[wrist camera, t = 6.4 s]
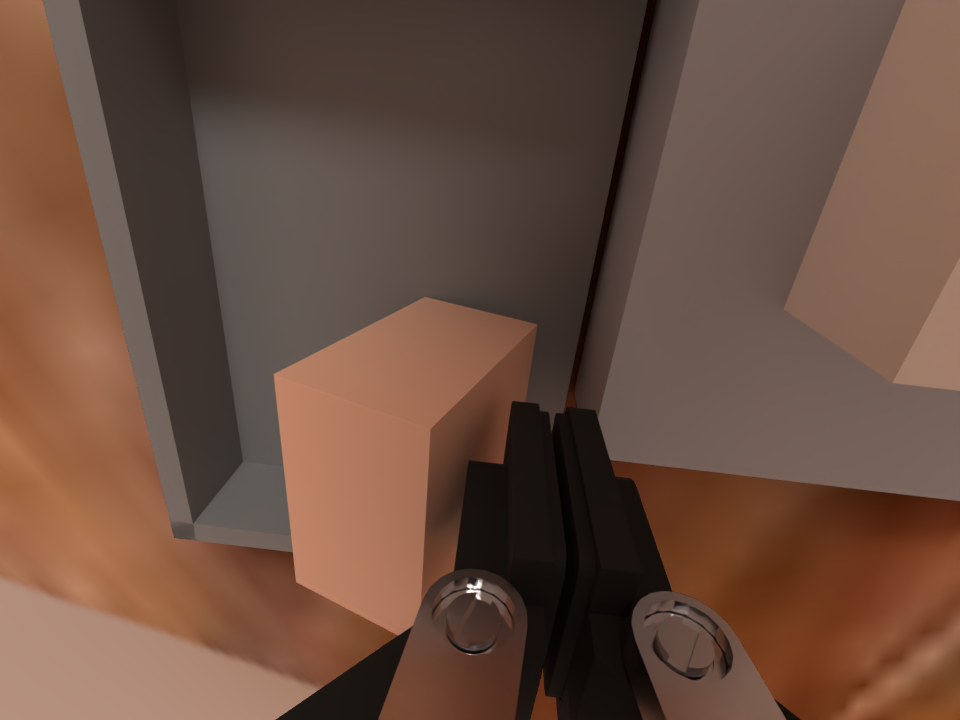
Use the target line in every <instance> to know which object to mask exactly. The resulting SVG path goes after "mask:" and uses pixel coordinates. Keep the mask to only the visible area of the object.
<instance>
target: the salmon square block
mask: <svg viewBox="0 0 960 720" xmlns="http://www.w3.org/2000/svg"><path fill="white" fill-rule="evenodd" d="M536 331H537V324H534V323H530V322H526V321H522V320H518V319H514V318H510V317H505V316H501V315H497V314H493V313H489V312H485V311H481V310H477V309H473V308H469V307H465V306H460V305H456V304H452V303H448V302H444V301H440V300H436V299H432V298H428V297H424V298H422V299H420V300H418V301H416V302H414V303H412V304H410V305H408V306H406V307H404V308H403V309H401V310H399V311H397V312H395V313H393V314H391V315H389V316H387V317H385V318H383V319H381V320H379V321H377V322H375V323H373V324H371V325H369V326H367V327H365V328H363V329H361V330H359V331H357V332H355V333H354V334H352V335H350V336H348V337H346V338H344V339H342V340H340V341H338V342H336V343H334V344H332V345H330V346H328V347H326V348H324V349H322V350H320V351H318V352H316V353H314V354H312V355H310V356H308V357H306V358H305V359H303V360H301V361H299V362H297V363H295V364H293V365H291V366H289V367H287V368H285V369H283V370H281V371H279V372H277V373H275V374H274V382H275V391H276V401H277V410H278V419H279V428H280V437H281V446H282V456H283V465H284V474H285V483H286V492H287V502H288V511H289V520H290V529H291V538H292V548H293V557H294V566H295V575H296V582H297V583H299V584H301V585H303V586H305V587H307V588H309V589H310V590H312V591H314V592H316V593H318V594H320V595H322V596H324V597H326V598H328V599H329V600H331V601H333V602H335V603H337V604H339V605H341V606H343V607H345V608H347V609H348V610H350V611H352V612H354V613H356V614H358V615H360V616H362V617H364V618H366V619H368V620H369V621H371V622H373V623H375V624H377V625H379V626H381V627H383V628H385V629H387V630H388V631H390V632H392V633H394V634H396V635H400V634H401V633H403V632H404V631H406V630H407V629H409V628H410V627H412V626H413V624H414V621H415V619H416V616H417V613H418V610H419V608H420V605H421V602H422V600H423V598H424V596H425V594H426V593H427V591H428V589H429V587H430V586H431V585H433V584H434V583H435V582H436V581H437V580H438V579H439V578H440V577H442V576H444V575H446V574H449V573H451V572H453V571H454V566H455V558H456V551H457V543H458V536H459V528H460V521H461V513H462V506H463V498H464V491H465V483H466V476H467V468H468V462H469V460H470V461H479V462H488V463H497V464H503V460H504V453H505V446H506V438H507V431H508V424H509V417H510V410H511V404H512V401H519V402H526V396H527V389H528V383H529V376H530V370H531V363H532V357H533V350H534V344H535V337H536Z"/></svg>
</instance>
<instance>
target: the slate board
mask: <svg viewBox="0 0 960 720" xmlns="http://www.w3.org/2000/svg"><path fill="white" fill-rule="evenodd" d="M904 3H905V0H657V2H656V6H655V11H654V16H653V21H652V25H651V30H650V35H649V40H648V44H647V49H646V54H645V59H644V63H643V68H642V73H641V78H640V82H639V87H638V92H637V97H636V101H635V106H634V111H633V115H632V120H631V125H630V130H629V134H628V139H627V144H626V149H625V153H624V158H623V163H622V168H621V172H620V177H619V182H618V187H617V191H616V196H615V201H614V206H613V210H612V215H611V220H610V225H609V229H608V234H607V239H606V243H605V248H604V253H603V258H602V262H601V267H600V272H599V277H598V281H597V286H596V291H595V296H594V300H593V305H592V310H591V315H590V319H589V324H588V329H587V334H586V338H585V343H584V348H583V352H582V357H581V362H580V367H579V371H578V376H577V381H576V386H575V390H574V396H575V400H576V404H577V408H582V409H591V410H595V411H596V413H597V417H598V420H599V424H600V427H601V431H602V434H603V437H604V441H605V444H606V448H607V451H608V455H609V458H610V460H614V461H623V462H631V463H640V464H648V465H657V466H665V467H674V468H682V469H691V470H699V471H708V472H716V473H725V474H733V475H742V476H750V477H759V478H768V479H776V480H785V481H793V482H802V483H810V484H819V485H827V486H836V487H844V488H853V489H861V490H870V491H878V492H887V493H895V494H904V495H912V496H921V497H929V498H938V499H946V500H955V501H960V391H957V390H948V389H939V388H931V387H922V386H913V385H904V384H896V383H891V382H890V381H888V380H887V379H886V378H884V377H883V376H881V375H880V374H878V373H877V372H875V371H874V370H872V369H871V368H869V367H868V366H866V365H865V364H863V363H862V362H860V361H859V360H857V359H856V358H855V357H853V356H852V355H850V354H849V353H847V352H846V351H844V350H843V349H841V348H840V347H838V346H837V345H835V344H834V343H832V342H831V341H829V340H828V339H826V338H825V337H824V336H822V335H821V334H819V333H818V332H816V331H815V330H813V329H812V328H810V327H809V326H807V325H806V324H804V323H803V322H801V321H800V320H798V319H797V318H796V317H794V316H793V315H791V314H790V313H788V312H787V311H785V310H784V306H785V304H786V301H787V299H788V296H789V294H790V291H791V289H792V286H793V283H794V281H795V278H796V276H797V273H798V271H799V268H800V266H801V263H802V261H803V258H804V256H805V253H806V251H807V248H808V246H809V243H810V241H811V238H812V235H813V233H814V230H815V228H816V225H817V223H818V220H819V218H820V215H821V213H822V210H823V208H824V205H825V203H826V200H827V198H828V195H829V192H830V190H831V187H832V185H833V182H834V180H835V177H836V175H837V172H838V170H839V167H840V165H841V162H842V160H843V157H844V155H845V152H846V150H847V147H848V144H849V142H850V139H851V137H852V134H853V132H854V129H855V127H856V124H857V122H858V119H859V117H860V114H861V112H862V109H863V107H864V104H865V101H866V99H867V96H868V94H869V91H870V89H871V86H872V84H873V81H874V79H875V76H876V74H877V71H878V69H879V66H880V64H881V61H882V59H883V56H884V53H885V51H886V48H887V46H888V43H889V41H890V38H891V36H892V33H893V31H894V28H895V26H896V23H897V21H898V18H899V16H900V13H901V10H902V8H903V5H904Z"/></svg>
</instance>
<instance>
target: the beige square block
mask: <svg viewBox="0 0 960 720" xmlns="http://www.w3.org/2000/svg"><path fill="white" fill-rule="evenodd" d="M784 310H785V311H787V312H788V313H790V314H791V315H793V316H794V317H796V318H797V319H798V320H800V321H801V322H803V323H804V324H806V325H807V326H809V327H810V328H812V329H813V330H815V331H816V332H818V333H819V334H821V335H822V336H824V337H825V338H826V339H828V340H829V341H831V342H832V343H834V344H835V345H837V346H838V347H840V348H841V349H843V350H844V351H846V352H847V353H849V354H850V355H852V356H853V357H855V358H856V359H857V360H859V361H860V362H862V363H863V364H865V365H866V366H868V367H869V368H871V369H872V370H874V371H875V372H877V373H878V374H880V375H881V376H883V377H884V378H886V379H887V380H888V381H890V382H891V383H896V384H904V385H913V386H922V387H931V388H939V389H948V390H957V391H960V0H905V3H904V5H903V8H902V10H901V13H900V16H899V18H898V21H897V23H896V26H895V28H894V31H893V33H892V36H891V38H890V41H889V43H888V46H887V48H886V51H885V53H884V56H883V59H882V61H881V64H880V66H879V69H878V71H877V74H876V76H875V79H874V81H873V84H872V86H871V89H870V91H869V94H868V96H867V99H866V101H865V104H864V107H863V109H862V112H861V114H860V117H859V119H858V122H857V124H856V127H855V129H854V132H853V134H852V137H851V139H850V142H849V144H848V147H847V150H846V152H845V155H844V157H843V160H842V162H841V165H840V167H839V170H838V172H837V175H836V177H835V180H834V182H833V185H832V187H831V190H830V192H829V195H828V198H827V200H826V203H825V205H824V208H823V210H822V213H821V215H820V218H819V220H818V223H817V225H816V228H815V230H814V233H813V235H812V238H811V241H810V243H809V246H808V248H807V251H806V253H805V256H804V258H803V261H802V263H801V266H800V268H799V271H798V273H797V276H796V278H795V281H794V283H793V286H792V289H791V291H790V294H789V296H788V299H787V301H786V304H785V306H784Z"/></svg>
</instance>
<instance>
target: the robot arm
mask: <svg viewBox="0 0 960 720" xmlns="http://www.w3.org/2000/svg"><path fill="white" fill-rule="evenodd" d="M542 670H543V673H544V689H545V695H546V696H549V697H556V702H557V715H558V720H800V719H799V718H798V717H796V716H795V715H794V714H793V713H791V712H790V711H789V710H788V709H786V708H785V707H784V706H783V705H781V704H780V703H779V702H777V701H776V700H775V699H774V698H773V696H772V695H771V693H770V691H769V689H768V688H767V686H766V684H765V683H764V681H763V679H762V678H761V676H760V674H759V673H758V671H757V669H756V667H755V666H754V664H753V662H752V661H751V659H750V657H749V656H748V654H747V652H746V650H745V649H744V647H743V645H742V644H741V642H740V640H739V639H738V637H737V636H736V634H735V633H734V631H733V630H732V629H731V627H730V626H729V625H728V623H727V622H726V621H725V620H724V619H723V618H722V617H720V616H719V615H718V614H717V613H716V612H715V611H714V610H713V609H712V608H710V607H708V606H707V605H705V604H703V603H702V602H700V601H698V600H697V599H695V598H692V597H689V596H687V595H684V594H681V593H677V592H672V590H671V587H670V584H669V581H668V578H667V575H666V572H665V569H664V566H663V563H662V560H661V557H660V555H659V552H658V549H657V546H656V543H655V540H654V537H653V534H652V531H651V528H650V525H649V522H648V520H647V517H646V514H645V511H644V508H643V505H642V502H641V499H640V496H639V493H638V490H637V487H636V485H635V483H634V481H633V480H632V479H630V478H621V477H615V475H614V472H613V468H612V465H611V461H610V458H609V455H608V451H607V448H606V444H605V441H604V437H603V434H602V431H601V427H600V424H599V420H598V417H597V413H596V411H595V410H591V409H582V408H573V407H567V408H566V411H565V414H563V413H556V415H555V418H554V423H553V429H552V432H551V424H550V416H549V412H545V411H540V407H539V404H537V403H528V402H519V401H512V404H511V410H510V417H509V424H508V431H507V438H506V446H505V453H504V460H503V464H497V463H488V462H479V461H470V460H469V462H468V468H467V476H466V483H465V491H464V498H463V506H462V513H461V521H460V528H459V536H458V543H457V551H456V558H455V566H454V571H453V572H451V573H449V574H446V575H444V576H442V577H440V578H439V579H438V580H437V581H436V582H435V583H434V584H433V585H431V586H430V587H429V589H428V591H427V593H426V594H425V596H424V598H423V600H422V602H421V605H420V608H419V610H418V613H417V616H416V619H415V621H414V624H413V626H412V627H410V628H409V629H407V630H406V631H404V632H403V633H401V634H400V635H398V636H397V637H395V638H394V639H393V640H391V641H390V642H388V643H387V644H385V645H384V646H382V647H381V648H379V649H378V650H377V651H375V652H374V653H372V654H371V655H369V656H368V657H366V658H365V659H363V660H362V661H361V662H359V663H358V664H356V665H355V666H353V667H352V668H350V669H349V670H347V671H346V672H344V673H343V674H342V675H340V676H339V677H337V678H336V679H334V680H333V681H331V682H330V683H328V684H327V685H326V686H324V687H323V688H321V689H320V690H318V691H317V692H315V693H314V694H312V695H311V696H310V697H308V698H307V699H305V700H304V701H302V702H301V703H300V704H298V705H297V706H295V707H294V708H292V709H291V710H289V711H288V712H286V713H285V714H284V715H282V716H280V717H279V718H278V719H276V720H530V719H531V714H532V710H533V706H534V702H535V698H536V694H537V691H538V687H539V683H540V678H541V674H542Z"/></svg>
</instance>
